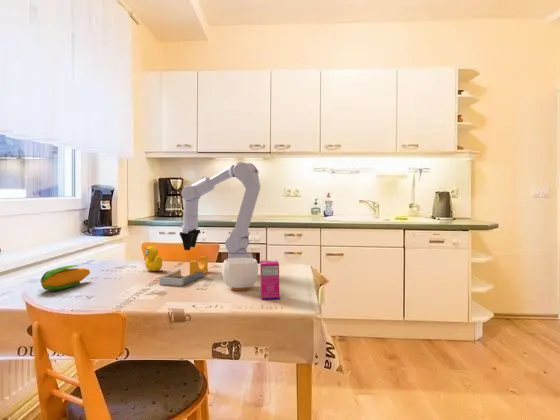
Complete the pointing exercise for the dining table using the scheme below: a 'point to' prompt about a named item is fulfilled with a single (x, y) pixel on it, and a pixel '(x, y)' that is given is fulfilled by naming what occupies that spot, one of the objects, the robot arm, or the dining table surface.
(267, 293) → the supplement box
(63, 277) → the corn
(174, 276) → the grey shallow rectangular tray
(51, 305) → the dining table surface
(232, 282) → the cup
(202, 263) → the pipe clamp
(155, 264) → the duckling
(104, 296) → the dining table surface
